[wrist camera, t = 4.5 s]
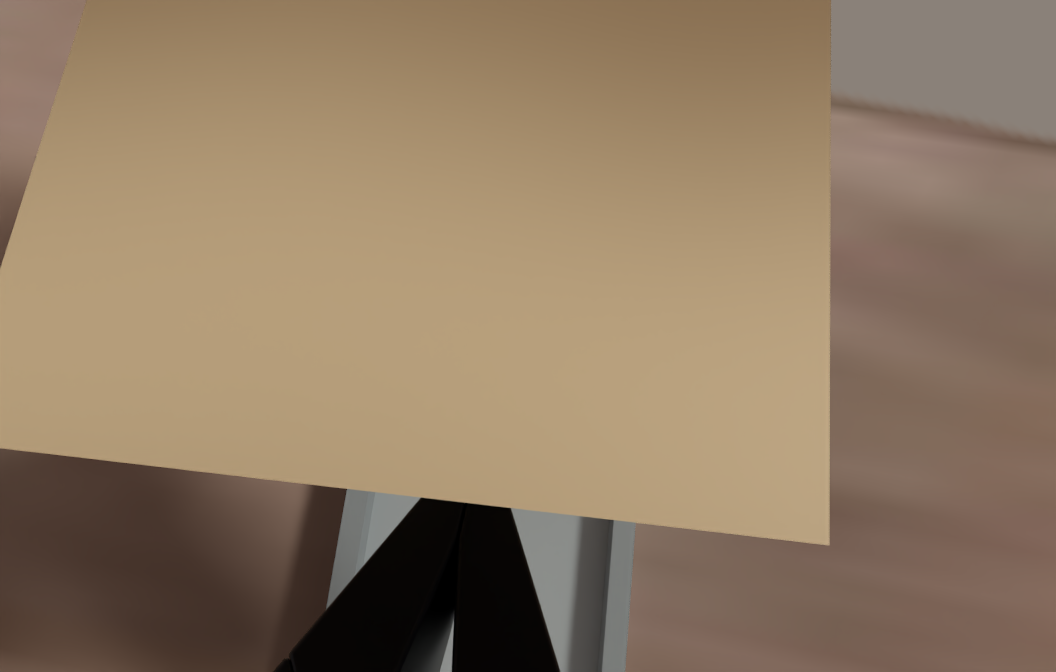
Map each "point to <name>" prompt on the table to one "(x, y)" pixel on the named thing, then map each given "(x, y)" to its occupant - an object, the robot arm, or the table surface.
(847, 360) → the table surface
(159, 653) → the table surface
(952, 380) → the table surface
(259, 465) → the stepped wooden block
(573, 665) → the track
